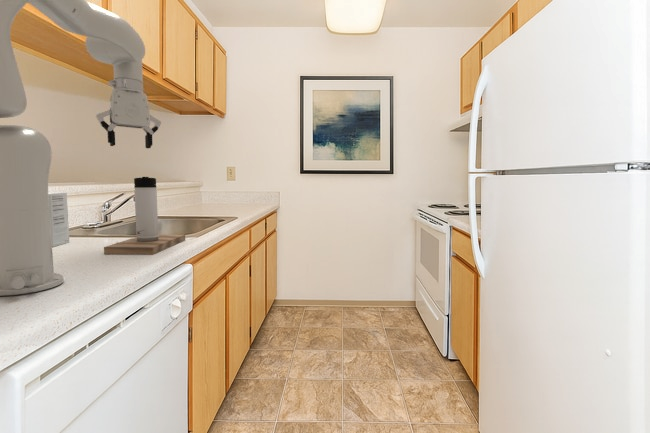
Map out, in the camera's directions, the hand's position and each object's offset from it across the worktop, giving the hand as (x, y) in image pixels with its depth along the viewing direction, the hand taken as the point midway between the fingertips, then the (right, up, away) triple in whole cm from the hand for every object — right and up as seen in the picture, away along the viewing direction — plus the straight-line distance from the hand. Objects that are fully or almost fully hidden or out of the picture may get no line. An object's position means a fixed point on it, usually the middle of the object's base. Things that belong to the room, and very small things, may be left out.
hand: (130, 146), depth 111 cm
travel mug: (+2, -28, +7) cm, 29 cm away
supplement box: (-32, -30, +9) cm, 45 cm away
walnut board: (+2, -30, +7) cm, 31 cm away
